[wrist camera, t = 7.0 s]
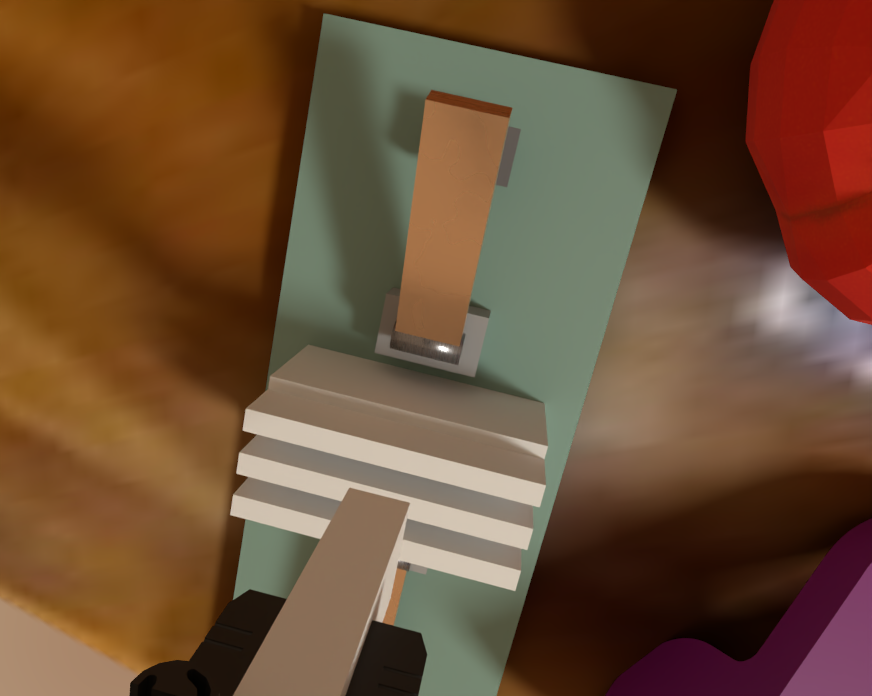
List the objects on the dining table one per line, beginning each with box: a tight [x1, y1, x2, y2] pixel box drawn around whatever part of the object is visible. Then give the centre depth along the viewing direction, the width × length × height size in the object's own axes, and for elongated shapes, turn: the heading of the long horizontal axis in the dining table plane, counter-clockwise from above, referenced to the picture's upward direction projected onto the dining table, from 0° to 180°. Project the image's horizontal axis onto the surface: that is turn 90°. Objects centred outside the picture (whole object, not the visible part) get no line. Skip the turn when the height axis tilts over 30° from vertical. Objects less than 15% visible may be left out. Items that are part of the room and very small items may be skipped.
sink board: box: [230, 13, 677, 696], centre depth 26 cm, size 30×13×8 cm, turn 168°
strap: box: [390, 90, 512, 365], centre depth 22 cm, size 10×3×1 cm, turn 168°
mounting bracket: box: [605, 518, 872, 696], centre depth 29 cm, size 10×8×18 cm
